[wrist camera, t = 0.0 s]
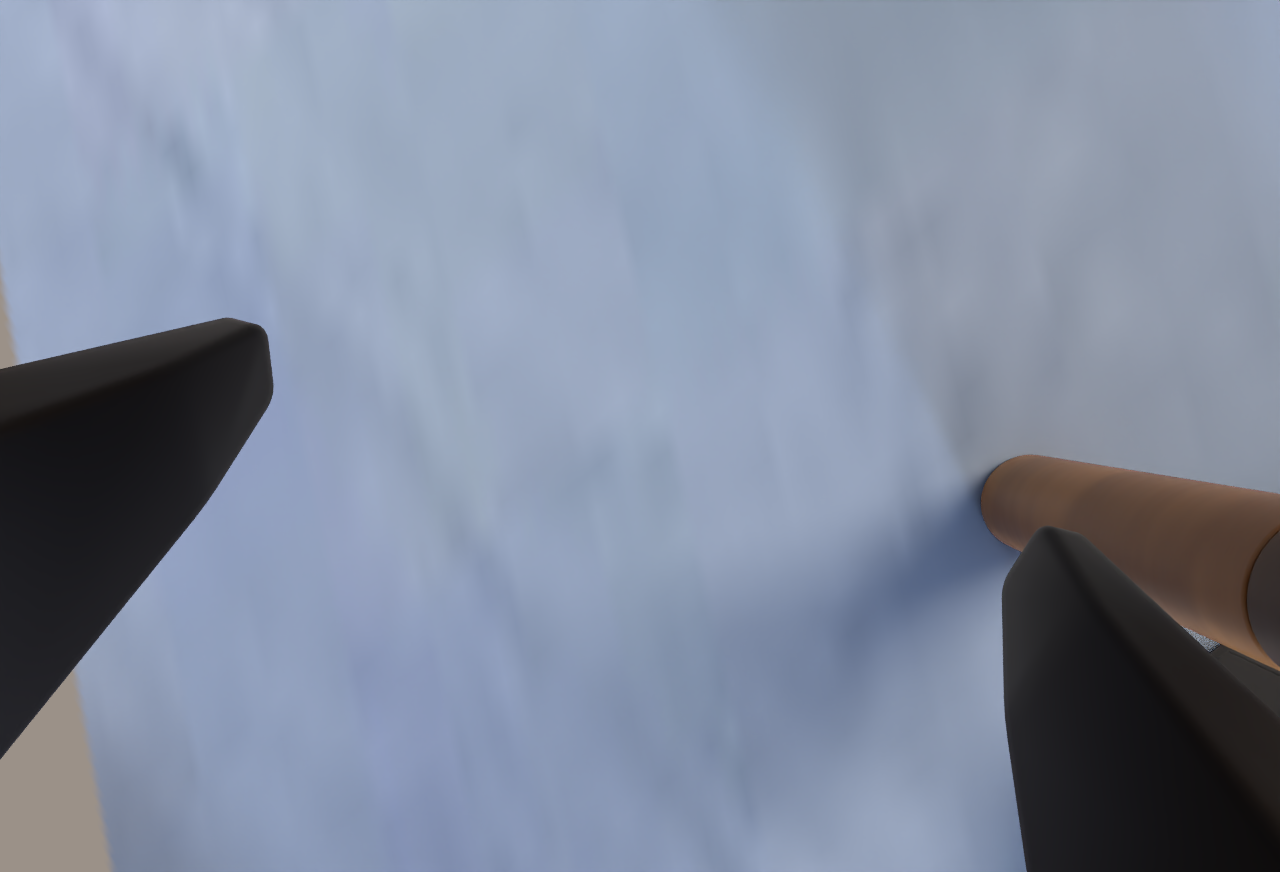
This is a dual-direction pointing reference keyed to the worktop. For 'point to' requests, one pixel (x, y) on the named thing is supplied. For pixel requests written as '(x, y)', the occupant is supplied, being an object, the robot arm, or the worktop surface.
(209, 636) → the worktop surface
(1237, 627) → the stick
